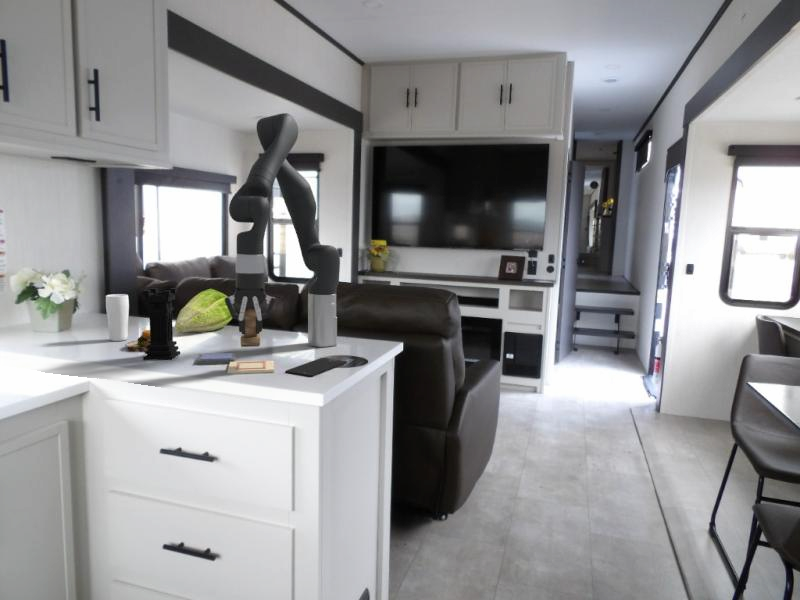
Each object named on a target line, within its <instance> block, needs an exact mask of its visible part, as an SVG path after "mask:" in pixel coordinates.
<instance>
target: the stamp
mask: <svg viewBox="0 0 800 600" xmlns="http://www.w3.org/2000/svg"><path fill="white" fill-rule="evenodd" d="M260 345H261V334H260V333H259V334H257V314H256V311H255V309H253V308H247V309H245V313H244V334H241V335H240V347H241V348H248V347H249V348H252V347H253V348H254V347H256V348H257V347H260Z"/></svg>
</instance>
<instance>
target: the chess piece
mask: <svg viewBox="0 0 800 600" xmlns="http://www.w3.org/2000/svg"><path fill="white" fill-rule="evenodd" d="M177 293H178V289H177V287H176V288H175V287H172V288H169V290H163V291H162V292H161V291H158V287H151V288H149V289H144V290H142V296H144V303H145V302H146V303H148V309H147V314H149V315H148V316H149V330H150V344H149V345H147V348H149V349H148V350H146V351H145V352H144V356H143V357H142V360H143V361H172V359H173V360H174V359H175V358H177V357H178V356H179V355H181V351H180V350H179V346H178V345H177V341H176V340H175V341H174V335H173V334H174V333H173V332H174V329H173V311H174V310H175V307H174V306H173V305H172V304H173V301H174V300H176V294H177ZM176 356H177V357H176Z"/></svg>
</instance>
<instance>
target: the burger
mask: <svg viewBox="0 0 800 600" xmlns="http://www.w3.org/2000/svg"><path fill="white" fill-rule="evenodd" d="M149 344H150V329H146V330H143V331H142V332H141V335H140V336H139V337H138V338H137V339H136V340H133V341H130V342H127V343H126V344H125V345H124V346H125V347H127V352H135V351H134V350H136V351H137V352H139V353H143V352H144V353H145V351H146V350H148V349H149V348H147V345H149Z"/></svg>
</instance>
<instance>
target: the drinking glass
mask: <svg viewBox="0 0 800 600" xmlns="http://www.w3.org/2000/svg"><path fill="white" fill-rule="evenodd" d="M105 309H106V310H105V311H106V316H107V317H106V318H107V324H108V332H109V340H110V341H112V342H123V341H127V340H128V339H129V337H128V336H129V335H128V333H129V332H128V330H129V313H130V312H129V311H130V299H129V295H128V294H126V293H117V294H115V293H113V294H107V295H105Z"/></svg>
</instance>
